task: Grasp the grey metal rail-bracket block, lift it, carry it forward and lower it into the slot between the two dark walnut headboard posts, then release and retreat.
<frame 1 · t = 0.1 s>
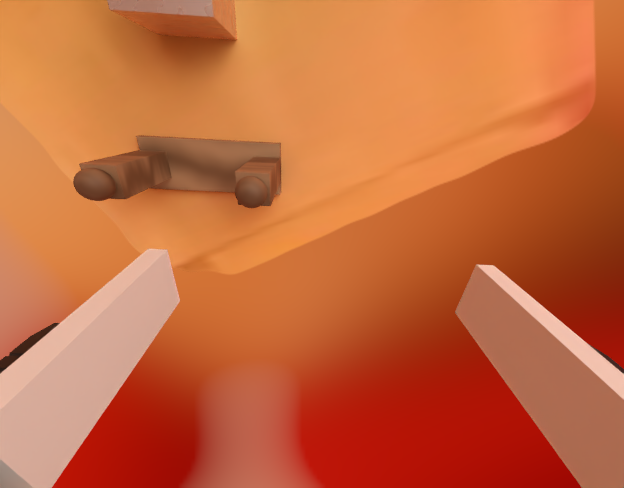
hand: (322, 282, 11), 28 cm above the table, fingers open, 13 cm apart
rail bracket: (194, 8, 27), on the table
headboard: (214, 165, 35), on the table
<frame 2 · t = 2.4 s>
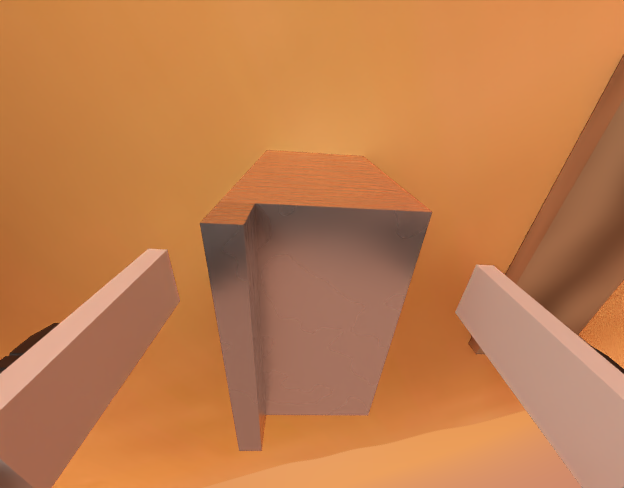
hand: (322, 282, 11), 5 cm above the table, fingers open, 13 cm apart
rail bracket: (310, 231, 15), on the table
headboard: (575, 243, 16), on the table
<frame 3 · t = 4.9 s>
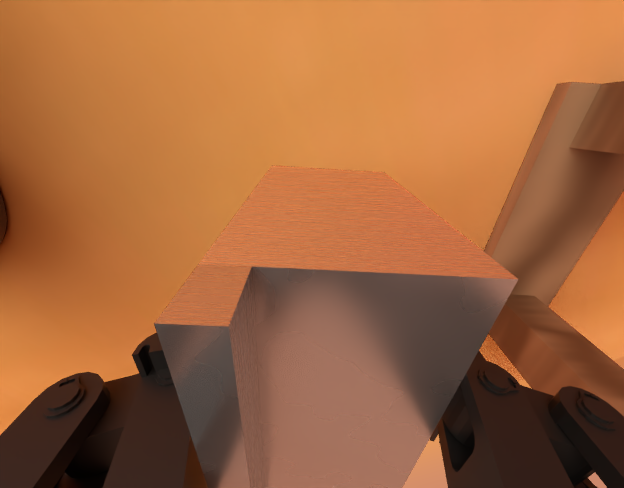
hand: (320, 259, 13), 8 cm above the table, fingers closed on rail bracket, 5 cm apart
rail bracket: (320, 256, 13), point 7 cm above the table, touching gripper
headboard: (538, 227, 20), on the table
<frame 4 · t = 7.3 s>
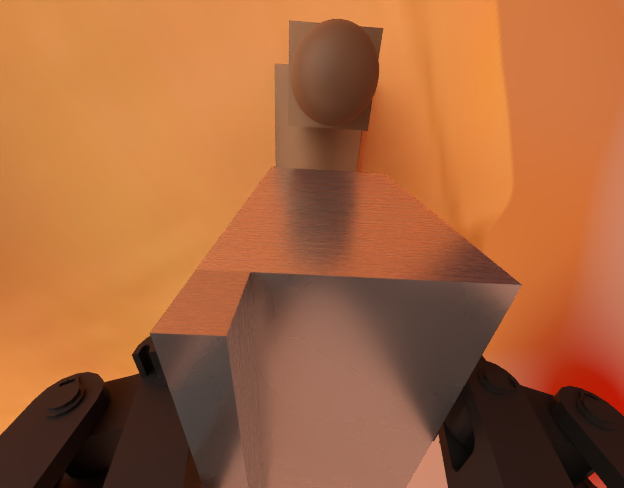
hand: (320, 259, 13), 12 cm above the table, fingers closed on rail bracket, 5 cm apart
rail bracket: (320, 257, 13), point 12 cm above the table, touching gripper
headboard: (314, 191, 23), on the table
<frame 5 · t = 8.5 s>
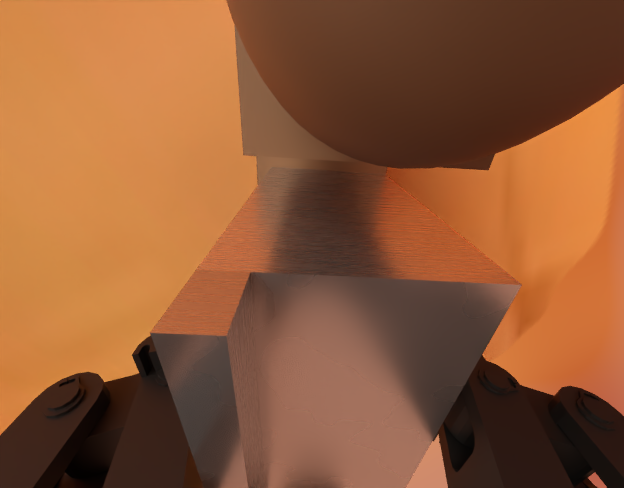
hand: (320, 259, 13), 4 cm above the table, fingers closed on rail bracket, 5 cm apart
rail bracket: (320, 257, 13), point 4 cm above the table, touching gripper
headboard: (316, 227, 16), on the table
when the fingers open (2 cm above the table, at t = 9.7 s): rail bracket stays where it is, resting on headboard.
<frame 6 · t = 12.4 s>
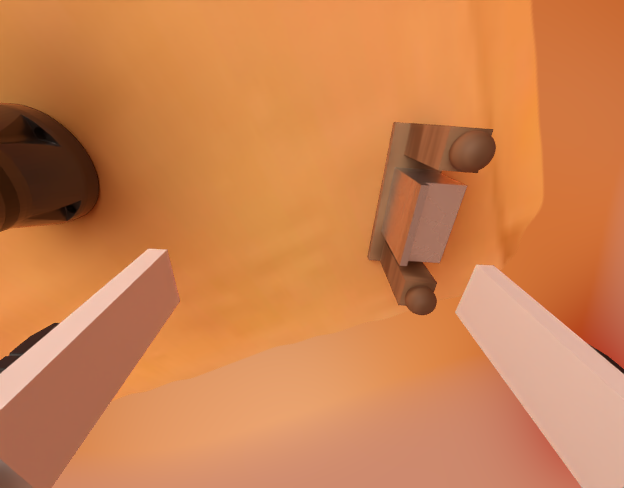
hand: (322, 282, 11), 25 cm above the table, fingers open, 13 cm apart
rail bracket: (405, 202, 33), point 1 cm above the table, touching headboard
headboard: (403, 199, 34), on the table
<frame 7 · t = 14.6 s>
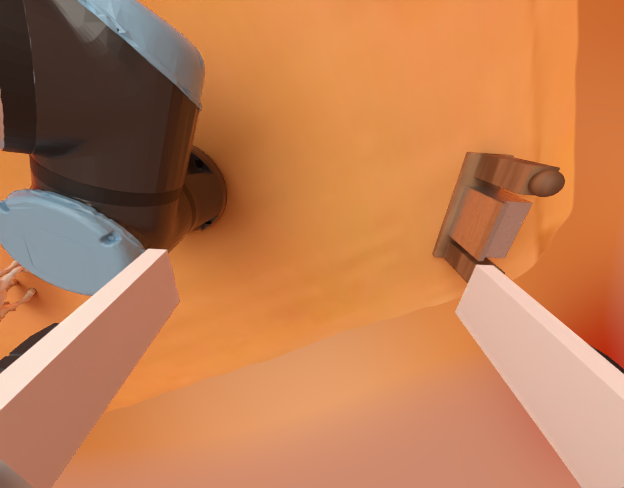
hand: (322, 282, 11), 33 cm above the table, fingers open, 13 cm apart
rail bracket: (469, 211, 43), point 1 cm above the table, touching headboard
unicorn figurine: (11, 265, 49), on the table
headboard: (467, 209, 44), on the table
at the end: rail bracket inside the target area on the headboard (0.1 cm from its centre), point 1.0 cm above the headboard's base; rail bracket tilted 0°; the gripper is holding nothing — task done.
